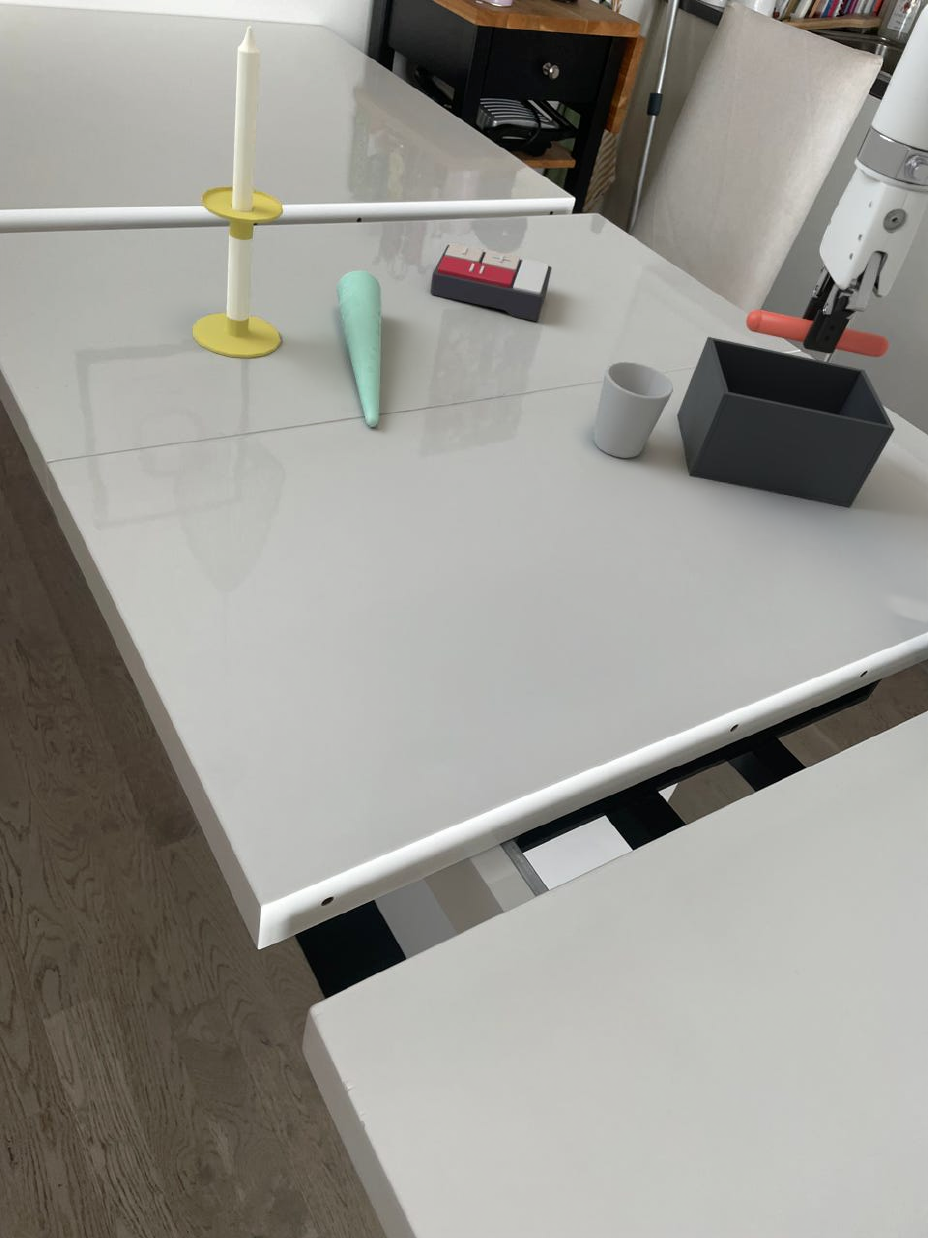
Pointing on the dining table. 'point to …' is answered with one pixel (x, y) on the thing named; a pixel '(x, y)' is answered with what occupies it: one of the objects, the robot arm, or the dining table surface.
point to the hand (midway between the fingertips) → (814, 341)
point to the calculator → (492, 280)
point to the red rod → (800, 327)
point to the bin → (781, 423)
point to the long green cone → (363, 335)
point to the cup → (629, 407)
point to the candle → (241, 226)
